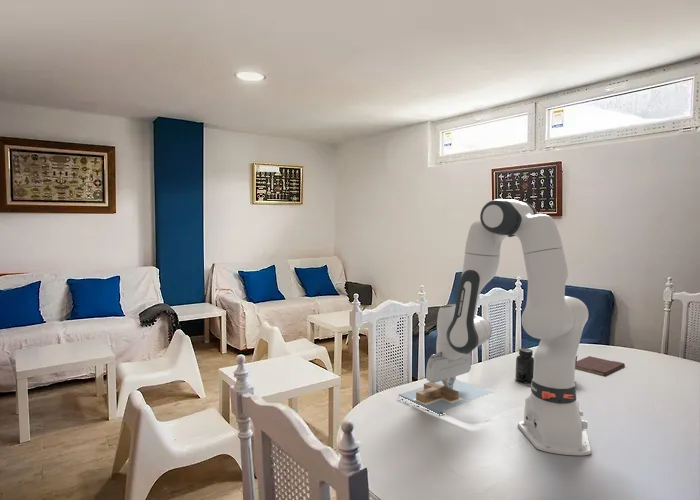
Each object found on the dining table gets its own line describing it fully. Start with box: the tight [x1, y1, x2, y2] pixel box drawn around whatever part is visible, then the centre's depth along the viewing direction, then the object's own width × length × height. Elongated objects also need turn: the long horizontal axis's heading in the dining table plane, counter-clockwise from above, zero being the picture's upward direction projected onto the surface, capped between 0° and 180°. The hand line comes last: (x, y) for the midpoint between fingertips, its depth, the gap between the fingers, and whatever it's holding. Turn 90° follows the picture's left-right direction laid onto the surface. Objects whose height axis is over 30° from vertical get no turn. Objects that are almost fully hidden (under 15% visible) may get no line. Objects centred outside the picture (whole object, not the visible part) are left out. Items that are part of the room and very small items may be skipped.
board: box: [398, 379, 493, 415], centre depth 161 cm, size 28×18×2 cm, turn 128°
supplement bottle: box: [515, 347, 534, 384], centre depth 179 cm, size 7×7×12 cm
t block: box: [416, 381, 459, 403], centre depth 157 cm, size 12×12×2 cm
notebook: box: [575, 355, 626, 377], centre depth 197 cm, size 15×20×2 cm
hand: (448, 389), depth 162 cm, fingers closed
